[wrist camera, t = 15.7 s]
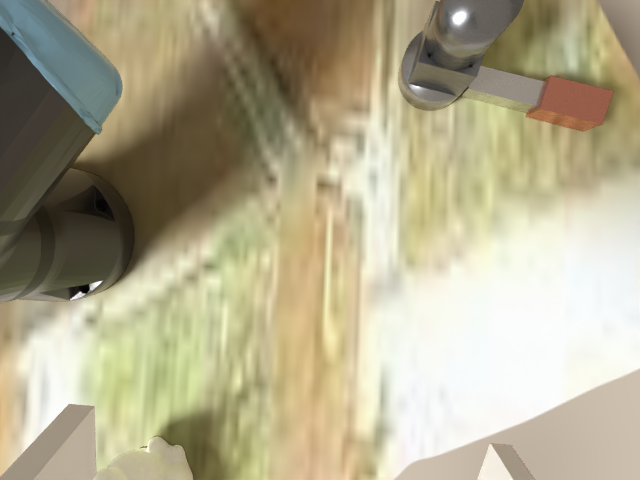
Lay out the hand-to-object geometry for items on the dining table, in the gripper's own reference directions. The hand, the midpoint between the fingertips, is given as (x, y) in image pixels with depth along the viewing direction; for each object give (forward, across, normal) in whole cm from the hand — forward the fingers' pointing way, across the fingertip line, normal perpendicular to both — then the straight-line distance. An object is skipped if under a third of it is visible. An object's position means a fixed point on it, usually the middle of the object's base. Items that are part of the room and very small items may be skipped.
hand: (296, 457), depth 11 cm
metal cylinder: (+26, +10, +20) cm, 34 cm away
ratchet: (+28, +17, +19) cm, 38 cm away
